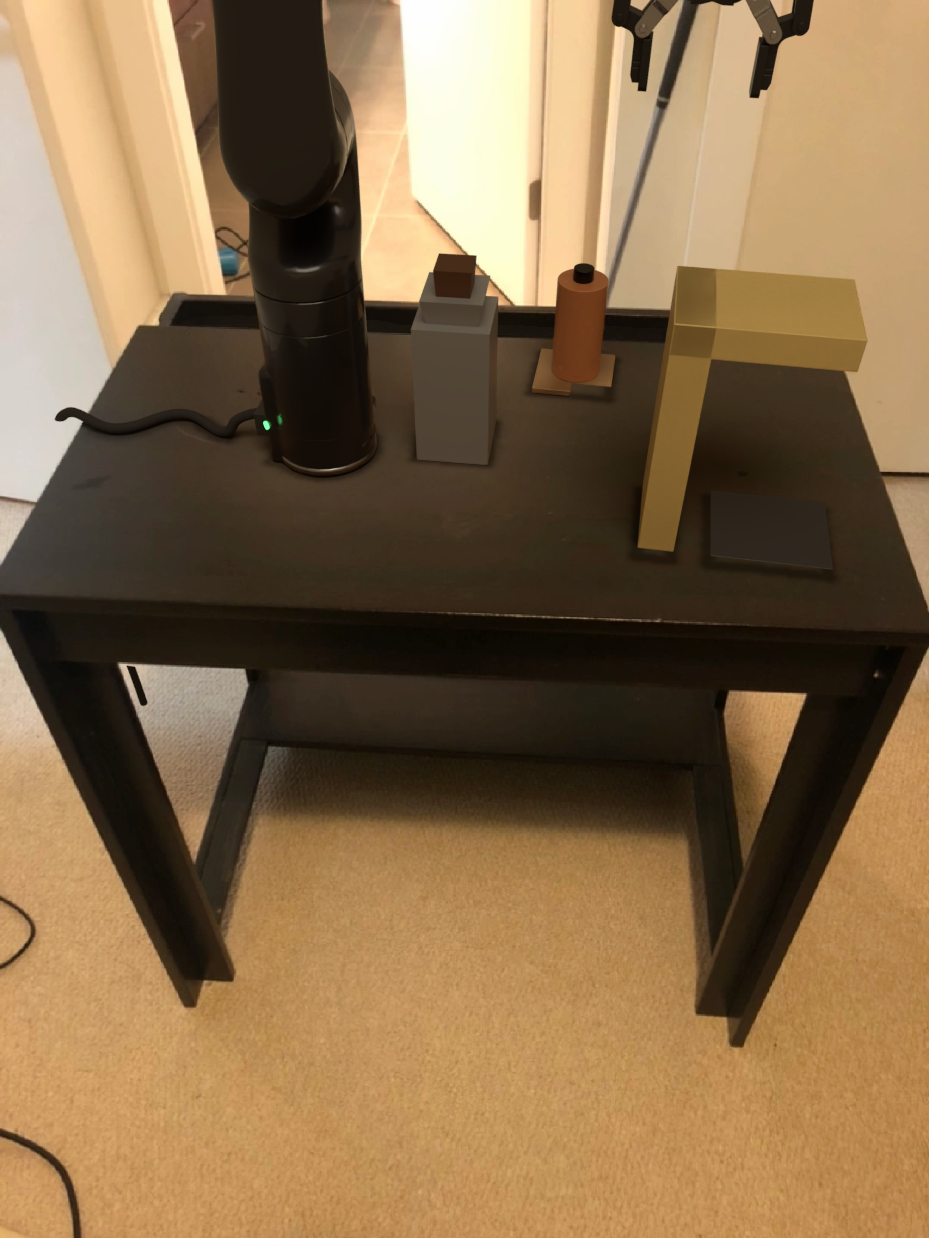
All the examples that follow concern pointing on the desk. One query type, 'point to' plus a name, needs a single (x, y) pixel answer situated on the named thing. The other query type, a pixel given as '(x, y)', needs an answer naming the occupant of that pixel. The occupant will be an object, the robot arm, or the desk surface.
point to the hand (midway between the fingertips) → (697, 92)
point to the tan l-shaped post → (754, 333)
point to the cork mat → (556, 386)
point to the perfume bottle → (455, 363)
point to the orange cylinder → (579, 323)
